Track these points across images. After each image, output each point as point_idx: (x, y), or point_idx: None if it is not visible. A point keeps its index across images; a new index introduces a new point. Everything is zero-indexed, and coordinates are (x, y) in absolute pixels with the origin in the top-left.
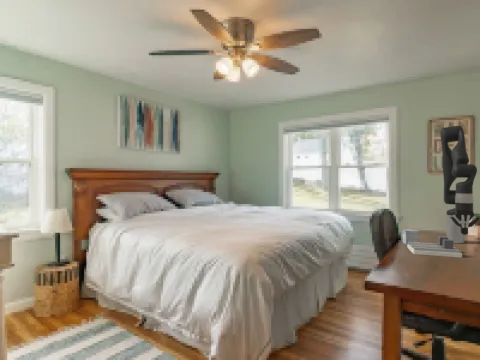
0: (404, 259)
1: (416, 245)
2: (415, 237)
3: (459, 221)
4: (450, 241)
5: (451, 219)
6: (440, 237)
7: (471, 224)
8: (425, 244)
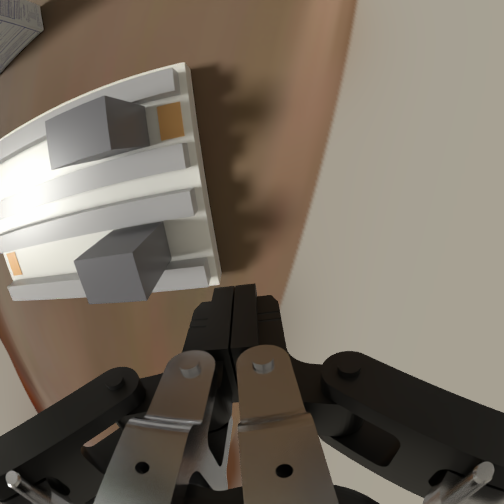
0: (42, 369)
1: (4, 244)
2: (1, 37)
3: (128, 438)
4: (130, 298)
5: (11, 453)
6: (56, 168)
7: (348, 445)
8: (31, 144)
